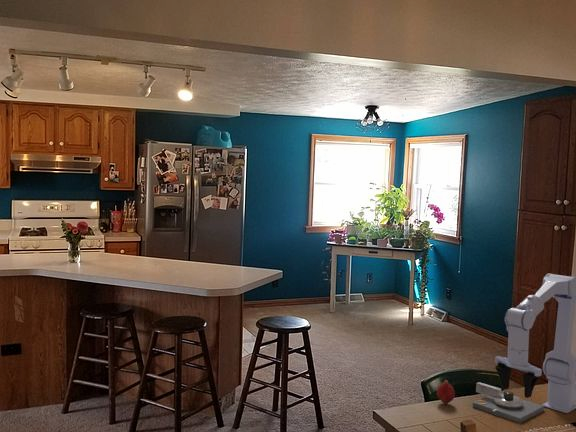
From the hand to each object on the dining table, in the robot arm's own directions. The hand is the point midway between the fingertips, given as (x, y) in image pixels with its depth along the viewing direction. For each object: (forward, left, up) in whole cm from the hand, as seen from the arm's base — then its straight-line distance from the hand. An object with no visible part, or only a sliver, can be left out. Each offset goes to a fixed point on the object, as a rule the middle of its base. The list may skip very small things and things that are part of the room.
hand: (516, 392), depth 164 cm
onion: (+3, -23, -10) cm, 25 cm away
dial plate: (-10, -8, -10) cm, 16 cm away
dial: (-10, -11, -8) cm, 17 cm away
